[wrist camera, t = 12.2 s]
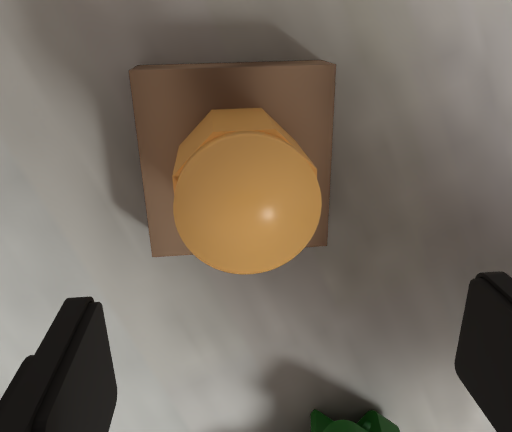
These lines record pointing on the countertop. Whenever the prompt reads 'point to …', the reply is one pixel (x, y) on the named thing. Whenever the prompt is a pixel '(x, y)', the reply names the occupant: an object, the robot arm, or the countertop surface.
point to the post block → (226, 97)
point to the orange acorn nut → (244, 192)
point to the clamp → (352, 423)
